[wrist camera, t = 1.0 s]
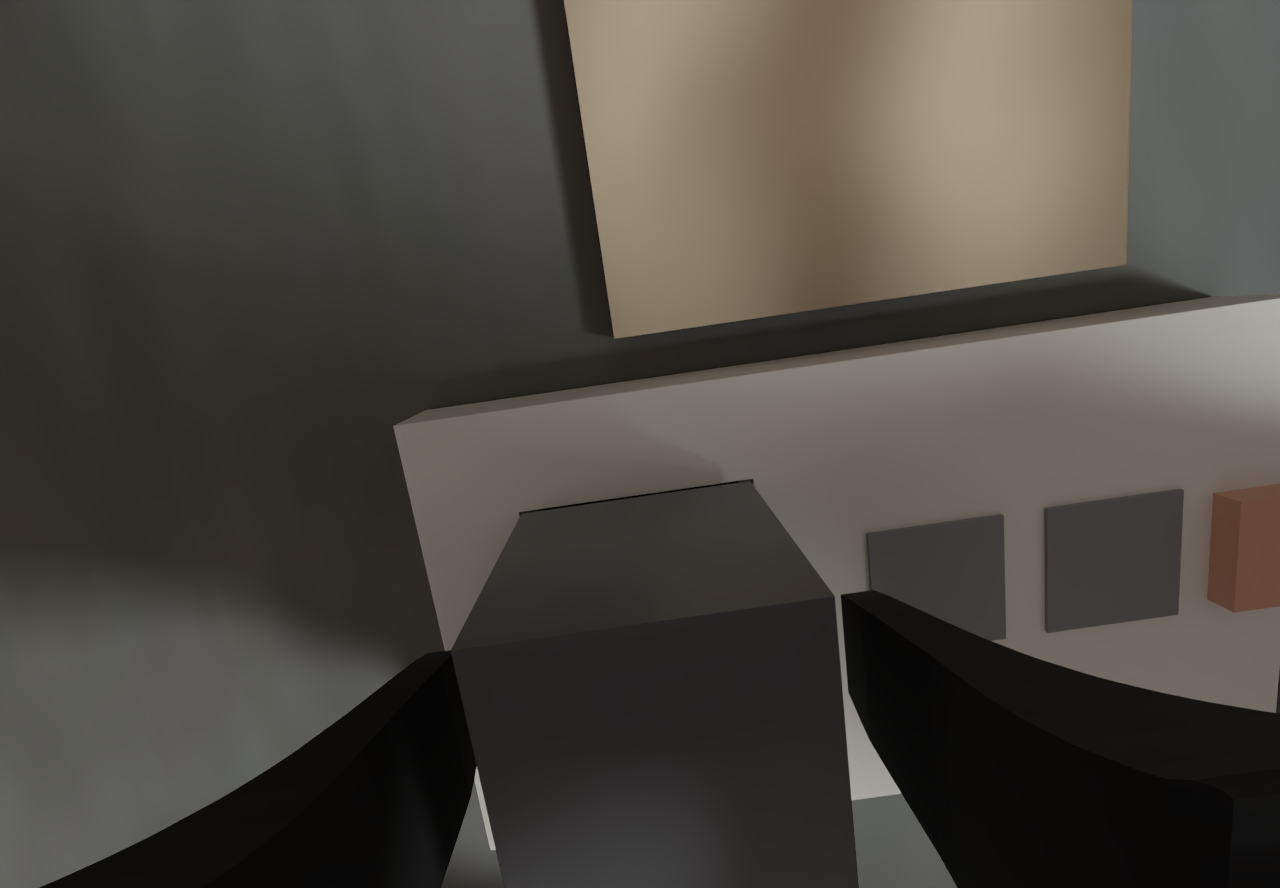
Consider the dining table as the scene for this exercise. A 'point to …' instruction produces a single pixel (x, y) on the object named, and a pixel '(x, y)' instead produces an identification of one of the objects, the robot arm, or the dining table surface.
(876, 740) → the robot arm
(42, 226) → the dining table surface
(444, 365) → the dining table surface
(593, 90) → the pad
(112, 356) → the dining table surface
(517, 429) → the white slotted block
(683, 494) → the block
